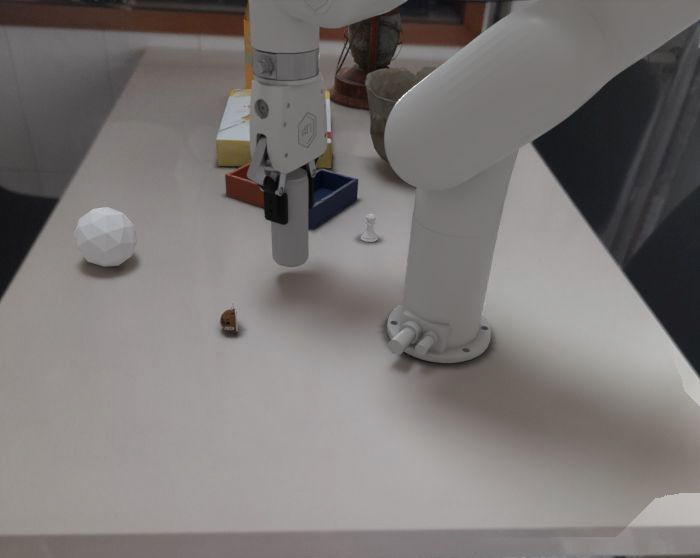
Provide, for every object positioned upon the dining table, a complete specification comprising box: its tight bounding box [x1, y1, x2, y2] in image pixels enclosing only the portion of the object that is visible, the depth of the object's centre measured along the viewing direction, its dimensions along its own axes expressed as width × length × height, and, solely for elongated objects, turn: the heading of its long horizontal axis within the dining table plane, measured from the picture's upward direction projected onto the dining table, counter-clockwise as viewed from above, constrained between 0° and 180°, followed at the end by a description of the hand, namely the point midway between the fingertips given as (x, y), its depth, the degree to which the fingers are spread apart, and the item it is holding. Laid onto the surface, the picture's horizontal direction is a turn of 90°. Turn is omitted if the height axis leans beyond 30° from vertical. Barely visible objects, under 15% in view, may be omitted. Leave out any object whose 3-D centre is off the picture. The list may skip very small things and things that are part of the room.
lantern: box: [328, 6, 404, 111], centre depth 152 cm, size 19×19×30 cm
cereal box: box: [215, 88, 333, 169], centre depth 135 cm, size 20×6×28 cm
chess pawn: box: [360, 213, 379, 243], centre depth 105 cm, size 3×2×4 cm
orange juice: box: [243, 0, 254, 89], centre depth 153 cm, size 8×9×20 cm
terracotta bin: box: [224, 162, 272, 209], centre depth 117 cm, size 11×9×4 cm
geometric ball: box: [73, 206, 138, 268], centre depth 95 cm, size 8×8×8 cm
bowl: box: [365, 66, 438, 167], centre depth 125 cm, size 22×22×15 cm
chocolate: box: [219, 299, 239, 334], centre depth 85 cm, size 3×2×4 cm
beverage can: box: [270, 168, 310, 268], centre depth 91 cm, size 5×5×12 cm
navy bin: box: [308, 168, 359, 230], centre depth 113 cm, size 13×7×4 cm, turn 149°
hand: (289, 212), depth 91 cm, fingers closed on beverage can, 4 cm apart
